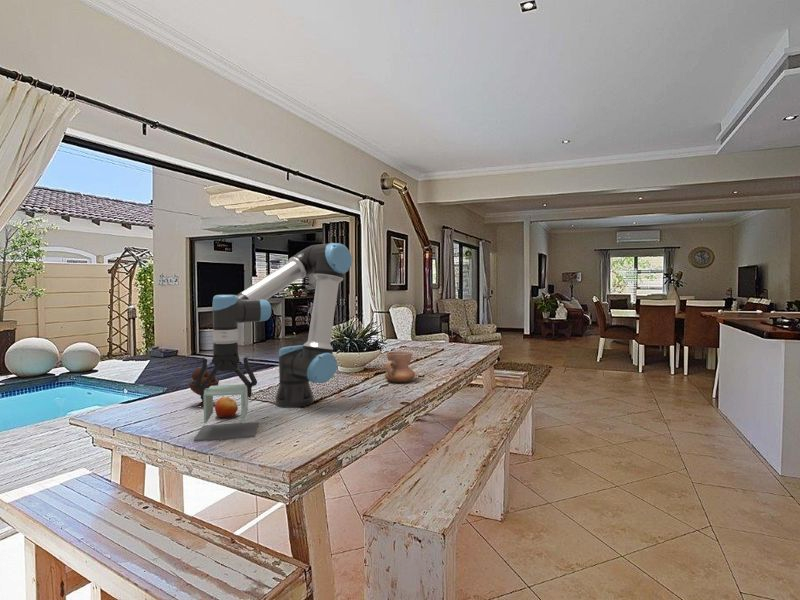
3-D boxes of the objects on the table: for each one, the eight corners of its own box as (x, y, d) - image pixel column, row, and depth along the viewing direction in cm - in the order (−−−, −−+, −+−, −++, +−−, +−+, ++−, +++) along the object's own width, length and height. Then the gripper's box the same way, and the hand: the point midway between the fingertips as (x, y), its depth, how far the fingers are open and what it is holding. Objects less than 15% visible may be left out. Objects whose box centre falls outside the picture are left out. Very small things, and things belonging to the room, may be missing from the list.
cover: (247, 410, 160) (247, 384, 160) (243, 420, 148) (243, 392, 148) (211, 412, 158) (210, 385, 157) (203, 423, 146) (203, 394, 146)
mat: (258, 423, 162) (258, 421, 162) (254, 437, 149) (254, 435, 149) (202, 427, 159) (202, 425, 158) (193, 441, 145) (193, 439, 145)
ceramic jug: (400, 376, 238) (399, 348, 237) (422, 379, 229) (421, 351, 228) (375, 383, 225) (374, 353, 224) (398, 387, 215) (397, 356, 214)
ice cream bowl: (209, 409, 180) (208, 371, 179) (183, 408, 182) (182, 370, 181) (224, 402, 190) (223, 365, 189) (200, 401, 192) (199, 364, 191)
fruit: (213, 410, 174) (224, 391, 174) (232, 420, 175) (243, 401, 175) (206, 416, 166) (217, 397, 166) (226, 427, 167) (237, 408, 167)
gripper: (182, 344, 146) (184, 413, 147) (263, 342, 151) (264, 408, 152) (188, 341, 153) (189, 406, 154) (264, 339, 158) (265, 402, 159)
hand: (226, 408), depth 153 cm, fingers closed on cover, 12 cm apart
